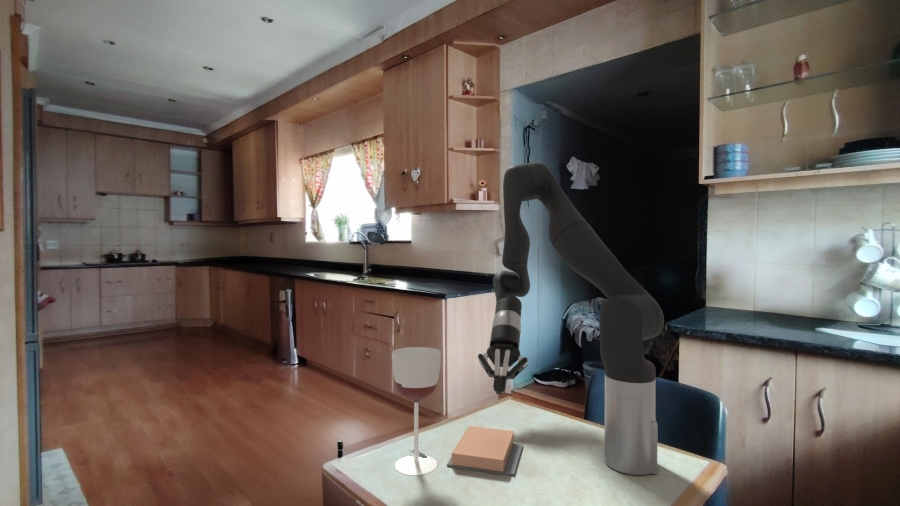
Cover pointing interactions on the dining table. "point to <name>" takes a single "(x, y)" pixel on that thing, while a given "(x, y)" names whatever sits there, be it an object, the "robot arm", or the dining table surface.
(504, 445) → the picture frame
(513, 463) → the mat
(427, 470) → the wineglass
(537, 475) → the dining table surface
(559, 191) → the robot arm
